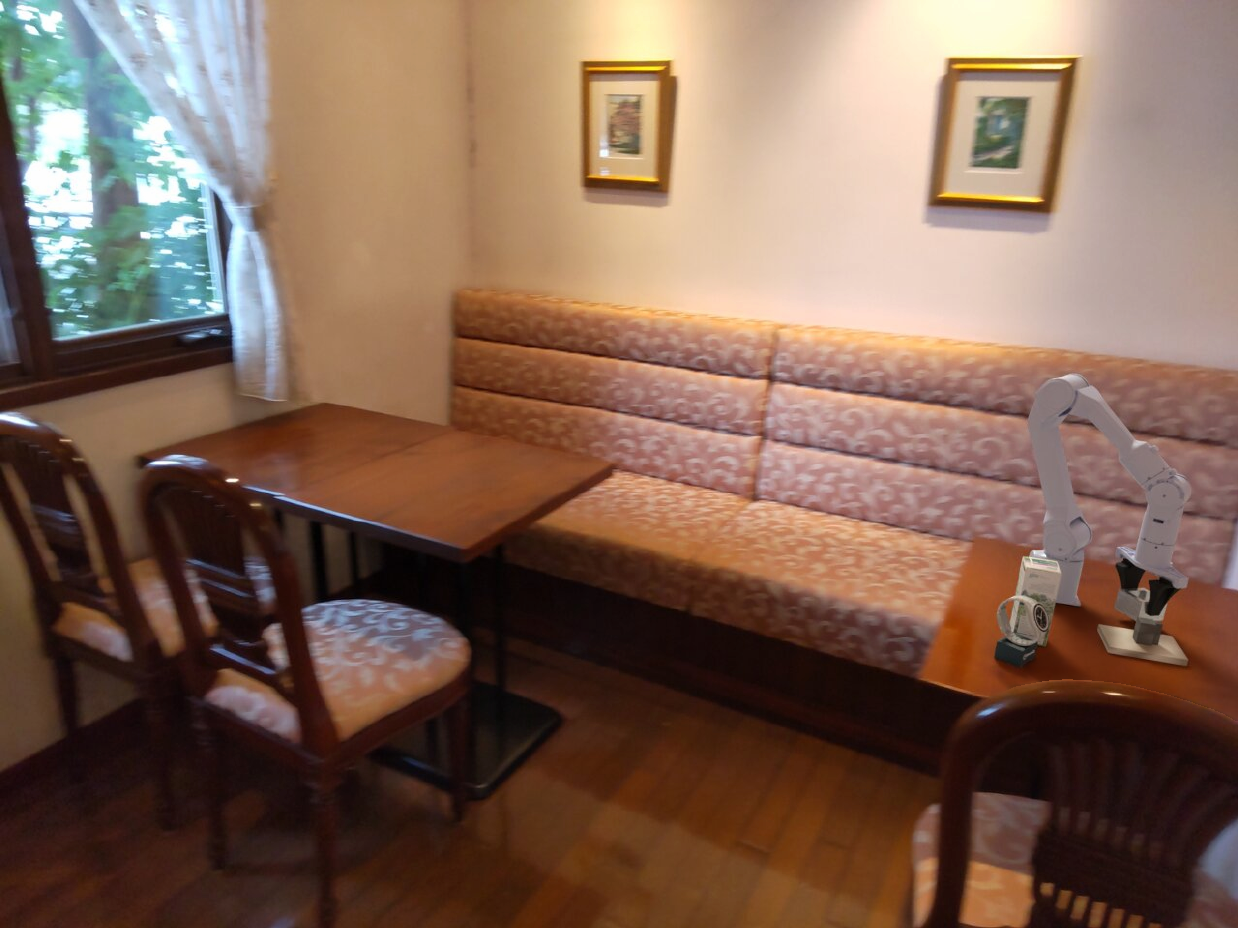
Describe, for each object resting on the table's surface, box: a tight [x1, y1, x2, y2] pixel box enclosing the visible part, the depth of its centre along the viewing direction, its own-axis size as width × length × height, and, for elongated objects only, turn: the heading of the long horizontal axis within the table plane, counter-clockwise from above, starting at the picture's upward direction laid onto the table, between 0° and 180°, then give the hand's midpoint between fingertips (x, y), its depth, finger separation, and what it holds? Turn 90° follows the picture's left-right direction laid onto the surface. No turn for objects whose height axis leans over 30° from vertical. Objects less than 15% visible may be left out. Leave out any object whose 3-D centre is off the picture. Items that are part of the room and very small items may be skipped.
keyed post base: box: [1096, 617, 1189, 667], centre depth 150 cm, size 12×9×5 cm
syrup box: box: [1009, 555, 1062, 647], centre depth 150 cm, size 6×6×14 cm
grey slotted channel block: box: [1114, 587, 1169, 622], centre depth 159 cm, size 6×6×4 cm
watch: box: [993, 595, 1049, 669], centre depth 143 cm, size 6×8×11 cm
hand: (1140, 607), depth 159 cm, fingers closed on grey slotted channel block, 6 cm apart
